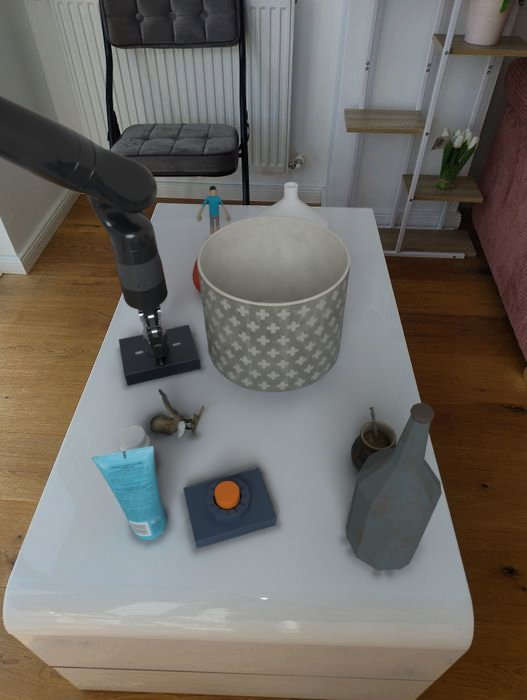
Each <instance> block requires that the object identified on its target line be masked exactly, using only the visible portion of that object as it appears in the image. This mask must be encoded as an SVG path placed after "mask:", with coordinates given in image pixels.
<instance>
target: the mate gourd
mask: <svg viewBox="0 0 527 700" xmlns="http://www.w3.org/2000/svg"><path fill="white" fill-rule="evenodd" d="M369 410H370V416H371V421H369V422H367V423H364V424H363V425H362V426H361V428H360V431H359V435H358V436H357V437H355V439H354V441H353V442H352V444H351V448H350V456H351V462H352V466H353V467H354V468H355V470H356V471H358V472H359V471H360V469H361V468H362V466H363V465H364V463H365V461H366V460H367V458H368V457H369V455H371V454H373V453H375V452H377V451H379V450H384V449H389V448H394V447H395V446H396V444H397V441H398V438H397V437H398V436H397V433H396V432H395V430H394V428H393V427H391V426H390V425H389V424H387V423H386V422H382V421H377V420H376V413H375V408H374V406H370V407H369Z"/></svg>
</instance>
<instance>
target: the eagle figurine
mask: <svg viewBox="0 0 527 700" xmlns="http://www.w3.org/2000/svg"><path fill="white" fill-rule="evenodd" d="M158 393H159V395H160V396H161V401H162V405H163V406H164V408H165V410H166V411H167V412H168V413H169V415H171V417H168V416H164V415H163V414H161V413H158V414H157V415H154V416H153V417H151V419H150V420H149V423H148V425H149V431H150V432H151V433H152V434H154V435H158V434H159V435H162V436H163V437H171V436H172V435H173V434H174V433H175V432H176V431H177V438H178V439H180V438H182V437H183V435H184V433H185V431H190V433H191V435H193V437H195V436H196V429H197V427H198V424H199V421H200V419H201V417H202V414H203V412H204V410H205V406H206V405H205V404H203V405H202V407H201V408H200V410H199V411H198V413H196V412H193V417H192V418H186V417H185V416H184V415H182V414H181V413H180V412H179V411H178V409H176V408H175V407H173V406H172V405H171V402H170V401H169V399H168V395H167V394H166V393H165V392H164V391H163V390H162V389H161V388H158ZM186 424H187V425H186Z"/></svg>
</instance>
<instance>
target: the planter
mask: <svg viewBox="0 0 527 700" xmlns="http://www.w3.org/2000/svg"><path fill="white" fill-rule="evenodd" d="M196 259H197V265H198V273H199V281H200V289H201V293H200V295H201V302H202V303H201V305H202V311H203V319H204V327H205V334H206V335H205V336H206V342H207V349H208V356H209V358H210V360H211V362H212V364H213V366H214V367H215V369H216V370H217V371H218V372H219V373H220V375H222V376H223V377H224V378H225V379H226V380H229V381H230V382H232V383H234V384H236V385H237V386H240V387H242V388H245V389H249V390H252V391H255V392H261V393H262V392H263V393H264V392H265V393H285V392H292V391H296V390H299V389H302V388H306V387H309V386H310V385H312V384H314V383H316V382H318V381H319V380H321V379H322V378H323V377H325V376H326V375H327V374H328V373H329V372H330V371H331V370H332V369H333V367H334V365H335V364H336V362H337V360H338V358H339V354H340V349H341V340H342V333H343V325H344V317H345V309H346V302H347V301H346V300H347V294H348V286H349V285H348V284H349V277H350V269H351V255H350V251H349V248H348V246H347V244H346V242H345V241H344V240H343V239H342V238H341V237H340V236H339V235H338V234H336V233H335V232H334V231H333V230H331V229H330V230H329V229H328V228H326V227H324V226H322V225H320V224H317V223H315V222H312V221H309V220H305V219H301V218H296V217H289V216H260V217H255V216H254V217H248V218H244V219H240V220H237V221H233V222H230V223H229V224H227V225H225V226H223V227H220V229H219V230H217V231H216V230H215V231H214V233H213V234H212V235H211V236H208V237H207V239H205V240H204V242H203V243H202V245H201V246H200V248H199V250H198V253H197V257H196Z"/></svg>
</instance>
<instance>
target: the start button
mask: <svg viewBox="0 0 527 700" xmlns="http://www.w3.org/2000/svg"><path fill="white" fill-rule="evenodd" d="M215 499H216V503H217V504H218V505H219V506H220V507H221V508H224V509H230V508H233V507H235V506H236V505H237V504H238V502H239V500H240V492H239V487H238V486H237V485H236V484H235V483H234V482H231V481H224V482H221V483H220V484H219V485H218V486H217V487H216V489H215Z"/></svg>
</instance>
